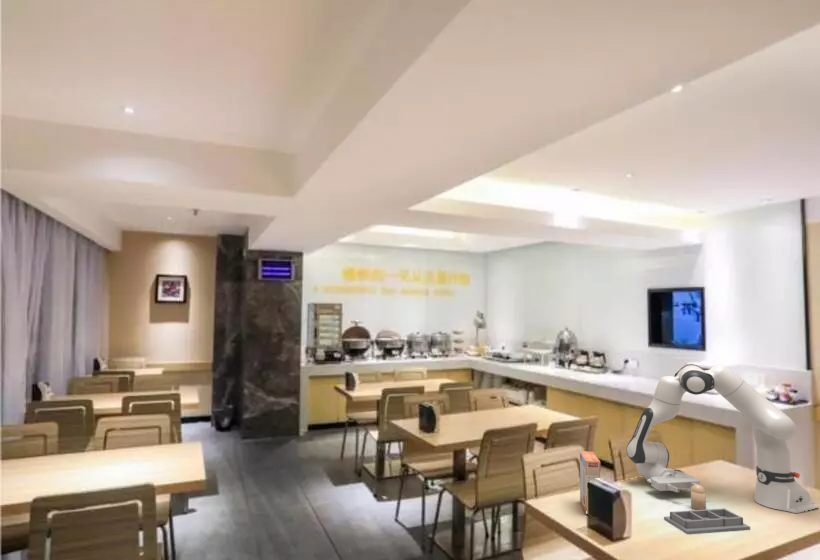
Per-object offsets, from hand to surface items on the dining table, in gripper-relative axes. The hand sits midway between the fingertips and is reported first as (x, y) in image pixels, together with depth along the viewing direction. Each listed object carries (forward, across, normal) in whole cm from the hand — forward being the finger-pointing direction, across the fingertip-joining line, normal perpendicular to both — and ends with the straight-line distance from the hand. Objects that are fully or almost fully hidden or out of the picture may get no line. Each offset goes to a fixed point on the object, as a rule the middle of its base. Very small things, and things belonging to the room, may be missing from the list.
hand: (688, 490), depth 197 cm
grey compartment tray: (+18, -8, +5) cm, 21 cm away
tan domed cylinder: (+6, 0, +5) cm, 8 cm away
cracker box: (0, -44, +5) cm, 45 cm away
